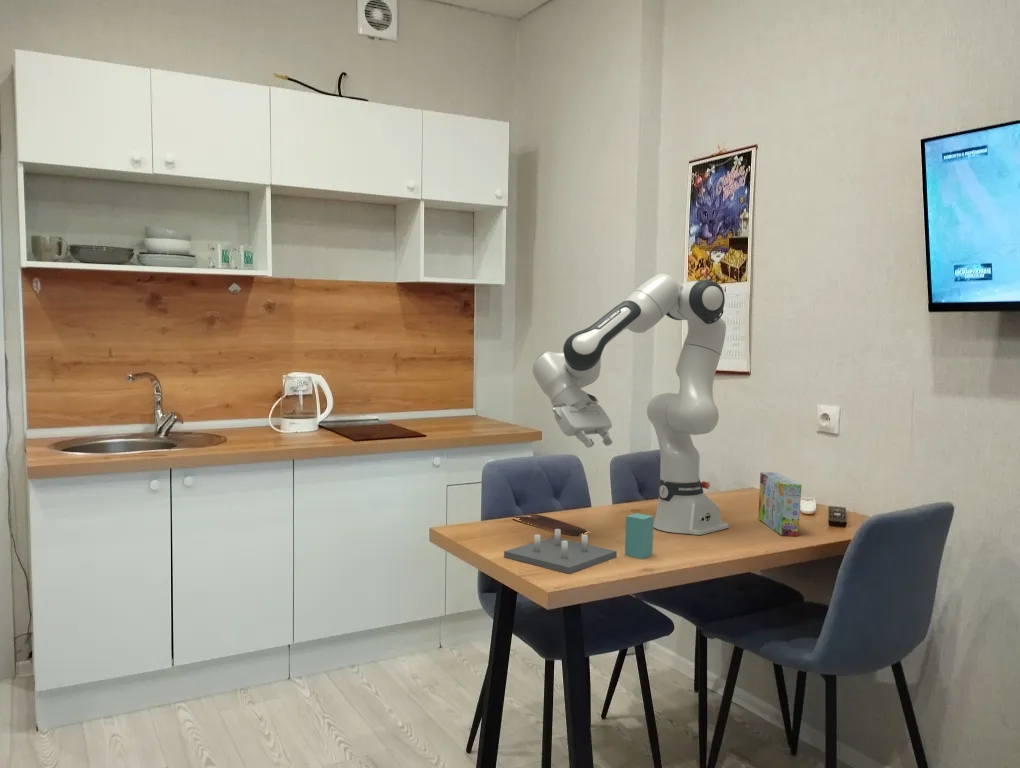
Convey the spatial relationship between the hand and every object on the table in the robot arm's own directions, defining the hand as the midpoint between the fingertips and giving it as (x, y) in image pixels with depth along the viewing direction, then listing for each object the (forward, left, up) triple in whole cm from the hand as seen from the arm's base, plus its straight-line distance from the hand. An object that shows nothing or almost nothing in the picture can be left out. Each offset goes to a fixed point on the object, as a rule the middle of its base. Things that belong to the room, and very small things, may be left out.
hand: (600, 445), depth 206 cm
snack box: (-61, +6, -27) cm, 67 cm away
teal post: (-4, +12, -27) cm, 30 cm away
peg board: (+15, +5, -27) cm, 31 cm away
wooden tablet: (-1, -24, -28) cm, 37 cm away
